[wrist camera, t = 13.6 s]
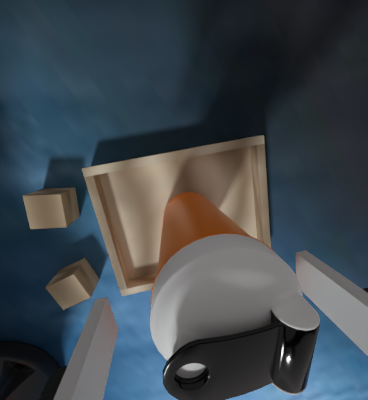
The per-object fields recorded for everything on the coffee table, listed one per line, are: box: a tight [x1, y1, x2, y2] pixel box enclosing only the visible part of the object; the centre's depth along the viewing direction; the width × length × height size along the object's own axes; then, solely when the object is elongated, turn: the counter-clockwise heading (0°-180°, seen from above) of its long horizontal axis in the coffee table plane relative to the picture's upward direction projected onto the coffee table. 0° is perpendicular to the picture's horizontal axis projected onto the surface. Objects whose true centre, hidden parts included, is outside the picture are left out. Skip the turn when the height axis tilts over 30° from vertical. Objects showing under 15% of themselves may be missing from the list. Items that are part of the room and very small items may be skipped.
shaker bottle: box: [150, 192, 320, 400], centre depth 18 cm, size 9×9×20 cm
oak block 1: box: [23, 188, 80, 229], centre depth 24 cm, size 4×4×4 cm
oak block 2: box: [45, 258, 99, 310], centre depth 27 cm, size 4×4×4 cm
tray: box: [82, 135, 271, 296], centre depth 27 cm, size 22×18×3 cm
